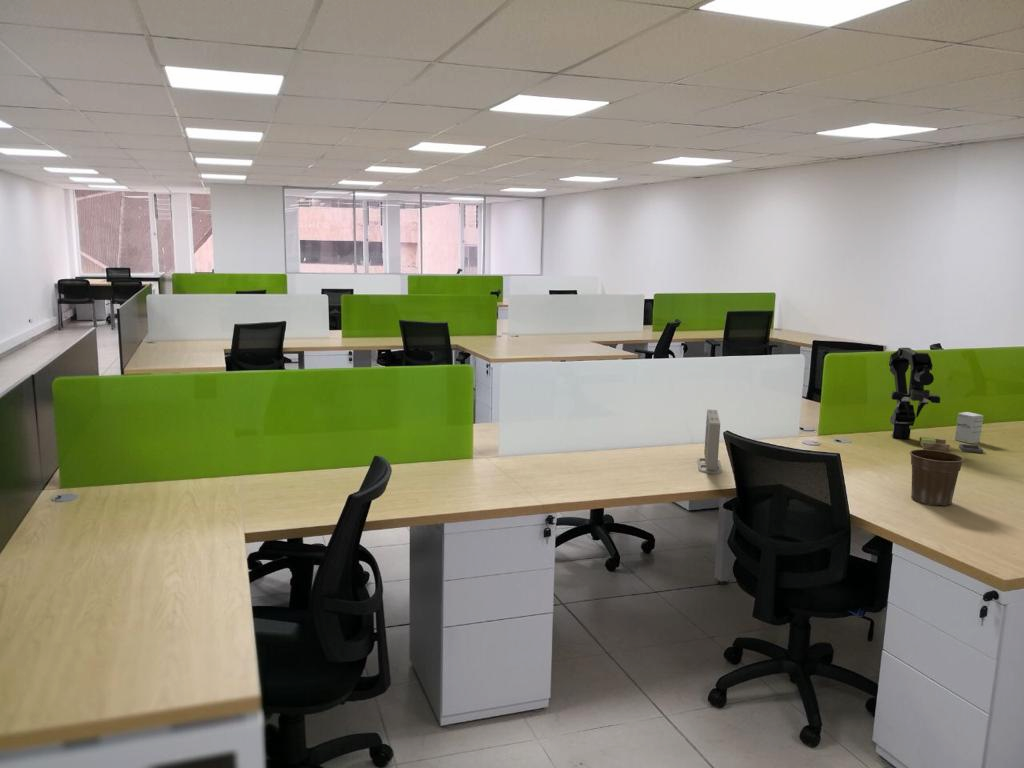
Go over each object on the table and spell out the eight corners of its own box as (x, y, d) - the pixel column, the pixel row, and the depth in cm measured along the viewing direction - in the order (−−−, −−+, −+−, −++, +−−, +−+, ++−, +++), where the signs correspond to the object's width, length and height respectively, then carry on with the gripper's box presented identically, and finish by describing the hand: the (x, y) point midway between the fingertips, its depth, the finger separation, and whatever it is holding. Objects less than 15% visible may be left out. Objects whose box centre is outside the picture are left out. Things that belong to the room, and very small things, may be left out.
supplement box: (954, 440, 352) (957, 412, 350) (964, 438, 355) (968, 411, 353) (969, 443, 346) (973, 416, 344) (980, 442, 349) (984, 414, 347)
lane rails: (922, 448, 336) (923, 442, 335) (919, 442, 346) (919, 437, 346) (949, 451, 332) (949, 445, 332) (944, 445, 343) (945, 439, 342)
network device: (723, 476, 288) (726, 423, 285) (698, 474, 290) (702, 422, 287) (719, 458, 313) (722, 409, 310) (696, 456, 315) (700, 408, 311)
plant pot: (910, 490, 277) (916, 446, 274) (962, 500, 267) (968, 454, 264) (899, 501, 265) (904, 455, 262) (952, 512, 254) (958, 464, 252)
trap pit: (962, 451, 332) (962, 448, 332) (958, 447, 339) (959, 443, 339) (982, 453, 330) (983, 450, 329) (979, 449, 337) (979, 445, 337)
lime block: (922, 447, 339) (923, 439, 338) (920, 444, 343) (921, 436, 343) (935, 448, 337) (936, 440, 337) (933, 445, 342) (934, 437, 341)
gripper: (895, 382, 333) (891, 418, 336) (944, 386, 327) (940, 422, 330) (892, 378, 343) (888, 413, 346) (940, 382, 337) (935, 417, 340)
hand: (912, 416), depth 340 cm, fingers open, 3 cm apart
